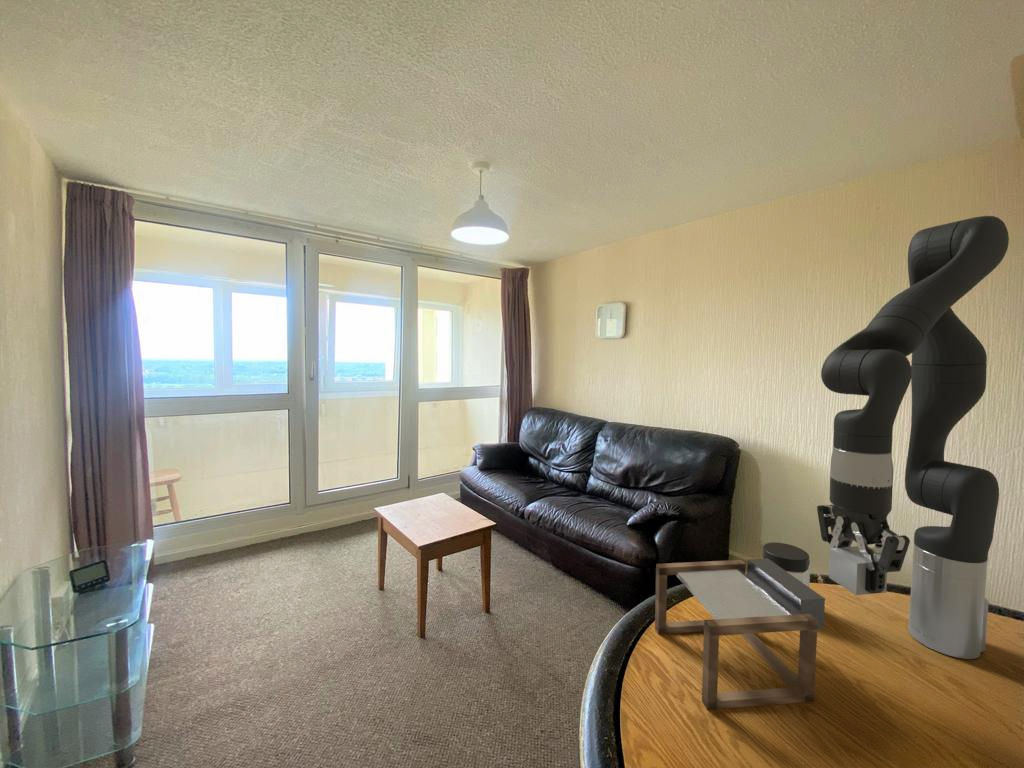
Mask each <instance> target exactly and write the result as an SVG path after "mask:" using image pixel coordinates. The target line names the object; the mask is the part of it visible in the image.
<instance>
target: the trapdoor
mask: <svg viewBox="0 0 1024 768" xmlns="http://www.w3.org/2000/svg"><path fill="white" fill-rule="evenodd" d="M746 570H747V573H746V572H745V573H744V572H742V571H741V570H740V569H739V568H736V569H733V570H713V571H693V572H677V575H676V577H677V579H679V581H680V582H681V583H682V584H683V585H684V586H685V587H686V589H687V590H688V591H689V592H690V593H691V594H692V595H693V596H694V598H696V600H697V601H698V602H699V603H700V604H701V605H702V606H703V608H704V609H705V610H706V611H707V612H708V613H709V614H710V615H711V616H712V617H713V619H730V618H746V617H763V616H780V615H797V614H811V615H812V616H813V617H815V618H816V619H817V620H818V626H817V630H822V629H824V624H825V603H826V601H825V600H826V598H825V597H823V596H822V595H821V594H819V593H818V592H816V591H815V590H813V589H812V588H811V587H810V586H809V587H808V586H806V585H805V584H804V583H802V582H801V581H799V580H798V579H796V578H795V577H794V576H792V575H791V574H789V573H788V572H786V571H785V570H784V569H782V568H781V567H779V566H778V565H776V564H775V563H774V562H772V561H771V560H769V559H768V558H767V559H763V558H751V559H749V558H748V559H747V568H746Z"/></svg>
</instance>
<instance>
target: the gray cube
mask: <svg viewBox="0 0 1024 768" xmlns="http://www.w3.org/2000/svg"><path fill="white" fill-rule="evenodd" d="M828 553H829V558H828V563H829V564H828V579H830V580H832V581H833V582H835V583H837V584H838V585H839V586H841V587H843V588H845V589H846V590H848V591H849V592H851V593H852V594H854V595H855V596H862V595H872V594H873V595H874V594H877V593H872V594H871V593H869V592H868V591H866V590H865V576H866V568H867V566H866V562H865V559H864V555H863V554H862V553H861V552H860V551H859V548H858V545H857V546H850V547H841V548H831V547H830V548H829V552H828ZM873 556H874V560H875V561H877V558H876V555H875V554H873ZM887 581H888V572H885V589H884V590H883V591H882V592H881V593H880V594H884V593H887V588H888V587H887V583H888V582H887Z"/></svg>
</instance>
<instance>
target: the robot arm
mask: <svg viewBox="0 0 1024 768" xmlns="http://www.w3.org/2000/svg"><path fill="white" fill-rule="evenodd" d="M1009 239H1010V238H1009V231H1008V228H1007V226H1006V223H1005V222H1004V221H1003V220H1002V219H1001V218H1000V217H997V216H994V215H982V216H977V217H976V216H975V217H970V218H966V219H962V220H957V221H952V222H949V223H943V224H939V225H935V226H930V227H927V228H923V229H921V230H918V231H917V232H916V233H915V234H914V235H913V236H912V238H911V239H910V242H909V246H908V251H907V271H908V283H909V286H908V288H906V289H904V290H903V291H901V292H900V293H897V294H896V295H894V297H892V298H890V300H888V301H887V302H886V303H885V304H884V305H883V306H882V307H881V308H880V309H879V310H878V312H877V313H876V314H875V315H874V317H873V318H872V319H871V321H870V322H869V323H868V324H867V326H866V327H865V328H864V329H861V330H860V331H859V332H857V333H855V334H854V335H853V336H851V337H850V338H848V339H847V340H846V341H844V342H842V343H841V344H840V345H838V346H837V347H836V348H835V349H833V350H832V351H831V352H830V353H829V354H828V355H827V357H826V358H825V360H824V361H823V364H822V367H821V371H820V377H821V381H822V383H823V385H824V386H825V388H827V389H828V390H829V391H831V392H833V393H837V394H841V395H854V396H855V395H856V396H866V397H867V396H868V399H867V401H866V403H865V405H864V406H863V407H862V408H859V409H857V408H856V409H845V410H842V411H839V412H837V413H836V414H835V416H834V420H833V436H832V437H833V441H832V442H833V443H832V451H831V456H830V457H831V458H830V468H829V469H830V470H829V474H830V475H829V501H830V503H831V504H821V505H817V506H816V511H817V517H818V523H819V530H820V537H821V540H822V541H823V542H825V543H826V542H827V543H828V544H829V546H830V548H841V547H852V544H853V542H855V543H857V546H858V548H859V551H860V552H861V553H862V554H863V555H864V559H865V562H866V566H867V568H866V576H865V590H866V591H868V592H869V593H871V594H870V595H872V593H876V594H882V593H881V592H882V591H883V590H884V589H885V572H887V573H894V572H895V573H897V572H901V570H902V568H903V564H904V561H905V558H906V555H907V552H908V550H909V547H910V543H911V539H910V537H908V535H903V534H902V535H901V534H900V535H898V534H897V533H896V532H894V531H893V530H891V529H890V525H889V522H888V519H887V518H888V515H889V514H890V513H891V512H892V510H893V509H892V508H893V487H894V486H893V485H894V483H893V482H894V481H893V480H894V463H893V462H894V461H893V454H892V452H893V430H894V429H893V428H894V424H895V421H896V417H897V415H898V412H899V409H900V407H901V403H902V402H903V399H904V398H905V397H904V396H905V395H906V393H907V391H908V388H909V386H911V415H910V416H911V417H910V419H911V420H910V421H911V423H910V425H911V426H910V433H909V434H910V435H909V441H908V449H907V456H906V457H907V458H906V462H905V463H906V464H905V473H904V488H905V492H906V496H907V497H908V499H909V500H910V501H911V502H912V503H913V504H915V505H917V506H920V507H923V508H926V509H928V510H932V511H936V512H940V513H943V514H946V515H949V516H952V519H951V522H950V525H949V526H940V525H937V526H936V525H926V526H925V525H924V526H920V527H918V528H916V529H915V531H914V535H913V551H912V552H913V553H912V571H911V582H910V597H909V598H910V599H909V610H908V611H909V614H908V627H907V628H908V629H907V630H908V633H909V634H910V636H911V637H912V638H913V639H915V640H916V641H917V642H919V643H920V644H922V645H924V646H925V647H927V648H929V649H931V650H932V651H936V652H938V653H941V654H944V655H946V656H950V657H954V658H958V659H965V660H973V659H978V658H979V657H980V656H981V652H982V653H983V652H985V651H986V642H987V630H988V628H987V627H988V617H989V616H988V615H989V600H988V599H987V598H986V588H987V574H988V573H987V570H988V560H989V559H988V557H989V552H990V548H991V546H992V543H993V539H994V530H995V525H996V518H997V510H998V507H999V499H1000V486H999V483H998V480H997V477H996V476H995V474H993V473H992V472H991V471H989V470H987V469H985V468H980V467H976V466H973V465H965V464H961V463H957V462H956V463H955V462H951V461H946V460H945V450H946V448H945V447H946V443H947V439H948V436H949V435H950V433H951V432H952V430H953V429H954V428H955V426H956V425H957V424H958V423H959V422H960V421H961V420H963V418H964V417H965V416H966V415H967V414H968V413H969V412H970V411H971V410H972V409H973V408H974V407H975V406H976V405H977V403H978V402H979V401H980V400H981V398H982V397H983V396H984V394H985V392H986V388H987V387H986V386H987V365H988V364H987V362H988V361H987V360H988V356H987V351H986V349H985V347H984V346H983V344H982V343H981V341H980V340H979V339H978V337H977V336H976V335H975V334H974V333H973V332H972V331H971V330H970V329H969V327H967V325H966V324H965V323H964V322H963V321H962V320H961V319H960V318H959V317H958V316H957V315H956V313H955V311H953V308H951V307H952V306H954V305H955V304H956V303H957V302H959V300H961V299H962V298H963V297H964V296H965V295H967V293H969V292H970V291H971V290H972V289H974V287H977V285H978V284H979V283H981V281H982V280H984V279H985V278H986V277H987V276H988V275H990V273H992V272H993V271H994V270H995V269H996V268H997V267H998V266H999V265H1000V264H1001V262H1002V261H1003V259H1004V258H1005V256H1006V254H1007V251H1008V249H1009V242H1010V240H1009ZM910 355H911V363H910V361H909V359H908V358H907V356H910ZM910 383H911V384H910ZM829 528H830V530H831V531H829ZM829 532H831V533H829ZM869 545H874V546H871V547H869ZM873 554H874V555H876V558H877V561H875V560H874V556H873Z"/></svg>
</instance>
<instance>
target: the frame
mask: <svg viewBox="0 0 1024 768" xmlns="http://www.w3.org/2000/svg"><path fill="white" fill-rule="evenodd" d="M736 568H739V569H740V570H741V571H742V572H744V573H745V574H746V570H747V568H746V562H744V561H743V560H742V559H733V560H712V561H692V562H691V561H689V562H688V561H687V562H671V563H668V562H667V563H655V602H654V603H655V605H654V606H655V607H654V608H655V609H654V610H655V611H654V612H655V614H654V630H655V631H656V633H657V634H658V635H663V634H664V635H665V634H680V633H681V634H682V633H696V632H697V633H699V632H703V651H702V652H703V653H702V657H703V658H702V681H701V682H702V687H701V688H702V689H701V702H702V704H703V705H704V707H705V709H706V710H709V711H710V710H722V709H733V708H747V707H757V706H770V705H771V706H772V705H785V704H795V703H796V704H798V703H799V704H800V703H809V702H810V703H811V702H815V687H816V686H815V684H816V667H817V663H816V662H817V647H818V646H817V645H818V641H817V640H818V629H817V626H818V620H817V619H816V618H815V617H813V616H812V615H811V614H797V615H780V616H763V617H746V618H730V619H715V618H713V619H700V620H684V621H682V620H681V621H667V604H668V603H667V598H668V597H667V596H668V592H667V591H668V576H677V572H693V571H713V570H733V569H736ZM798 631H799V645H798V646H799V648H798V649H799V650H798V669H797V674H795V673H794V672H793V670H791V669H790V667H788V666H787V665H786V664H785V662H783V661H782V660H781V659H780V658H779V657H778V656H777V655H776V654H775V653H774V652H773V650H772V649H770V648H769V646H767V645H766V644H765V643H764V642H763V641H762V639H761V638H759V637H758V636H757V634H764V633H766V634H767V633H779V632H781V633H782V632H783V633H784V632H798ZM734 635H735V636H736V635H741V636H742V637H743V639H745V641H747V643H748V644H749V645H750V646H751V647H752V648H753V649H754V650H755V651H756V652H757V654H758V655H760V656H761V657H762V658H763V660H765V662H766V663H767V664H768V665H769V666H770V668H772V669H773V671H775V673H777V674H778V675H779V676H780V678H781V679H782V680H783V681H784V682H785V683H786V684H787V685H788V686H789V687H780V688H779V687H778V688H766V689H765V688H764V689H751V690H741V691H739V690H738V691H737V690H736V691H723V692H718V686H719V685H718V682H719V679H718V678H719V655H720V654H719V648H720V636H734Z"/></svg>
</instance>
